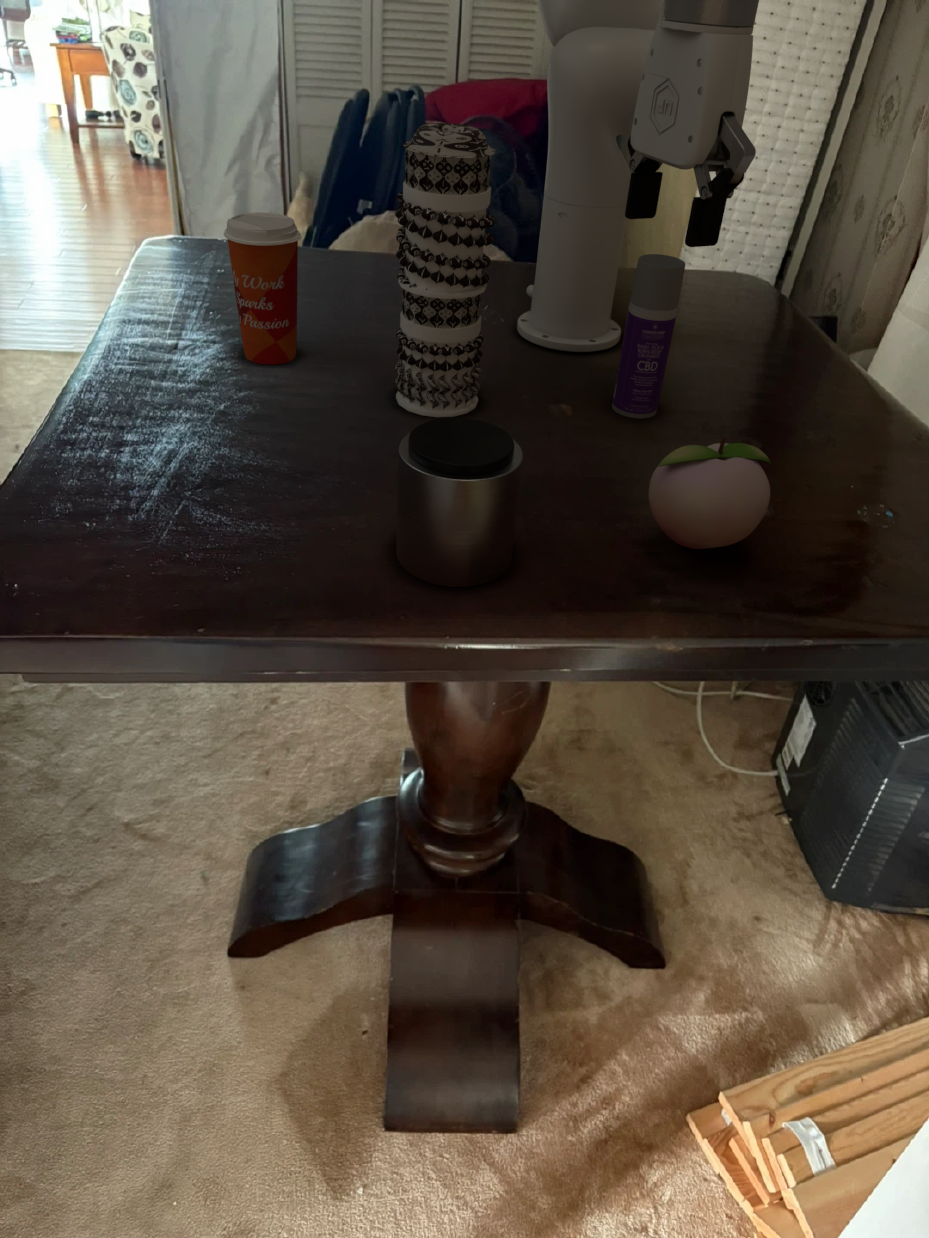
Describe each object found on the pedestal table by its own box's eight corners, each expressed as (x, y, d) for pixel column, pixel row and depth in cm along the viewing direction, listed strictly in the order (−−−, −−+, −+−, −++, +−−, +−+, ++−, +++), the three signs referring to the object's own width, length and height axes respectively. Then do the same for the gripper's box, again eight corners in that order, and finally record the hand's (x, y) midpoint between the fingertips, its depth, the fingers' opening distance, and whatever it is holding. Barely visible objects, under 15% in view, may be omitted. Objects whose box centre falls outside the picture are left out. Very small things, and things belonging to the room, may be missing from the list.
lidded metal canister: (379, 535, 73) (380, 421, 67) (481, 516, 77) (490, 406, 71) (422, 597, 67) (427, 478, 61) (531, 574, 70) (546, 459, 64)
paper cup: (220, 359, 99) (207, 223, 91) (259, 337, 105) (249, 207, 97) (283, 374, 97) (275, 236, 89) (319, 350, 103) (315, 219, 94)
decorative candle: (373, 397, 94) (374, 123, 79) (436, 374, 100) (448, 115, 85) (436, 427, 89) (451, 143, 74) (499, 402, 95) (524, 133, 80)
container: (628, 421, 93) (657, 270, 84) (602, 403, 96) (627, 255, 87) (665, 414, 95) (697, 266, 86) (638, 397, 98) (666, 252, 89)
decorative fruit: (678, 589, 70) (707, 472, 64) (622, 534, 76) (644, 422, 70) (776, 567, 73) (813, 454, 67) (715, 516, 79) (744, 408, 73)
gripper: (613, -1, 79) (586, 210, 90) (739, 18, 67) (691, 260, 77) (684, 3, 82) (650, 207, 92) (818, 21, 70) (761, 255, 80)
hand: (668, 231), depth 85 cm, fingers open, 9 cm apart
